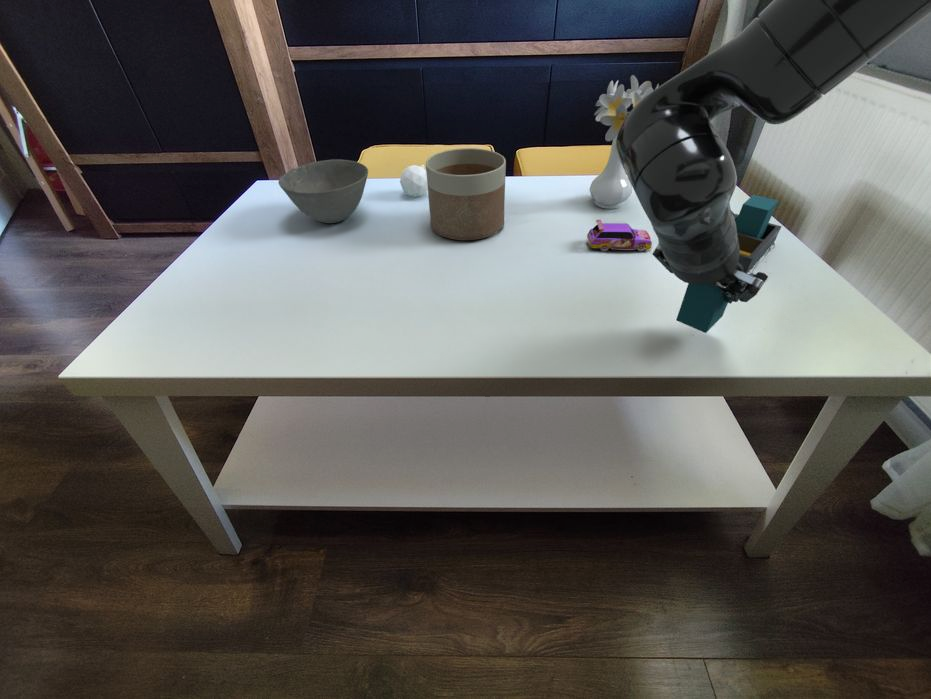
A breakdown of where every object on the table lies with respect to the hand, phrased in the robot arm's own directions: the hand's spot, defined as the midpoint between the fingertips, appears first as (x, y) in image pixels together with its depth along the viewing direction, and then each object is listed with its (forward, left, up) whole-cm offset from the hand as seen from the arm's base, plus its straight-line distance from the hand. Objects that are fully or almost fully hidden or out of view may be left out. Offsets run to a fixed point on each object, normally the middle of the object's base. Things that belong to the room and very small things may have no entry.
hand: (714, 289), depth 64 cm
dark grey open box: (+4, -29, -8) cm, 30 cm away
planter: (+52, -3, -8) cm, 52 cm away
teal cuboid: (+4, -33, -7) cm, 34 cm away
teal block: (0, +2, -4) cm, 5 cm away
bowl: (+78, +14, -8) cm, 79 cm away
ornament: (+73, -7, -8) cm, 73 cm away
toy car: (+23, -16, -8) cm, 29 cm away
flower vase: (+34, -32, -8) cm, 47 cm away
